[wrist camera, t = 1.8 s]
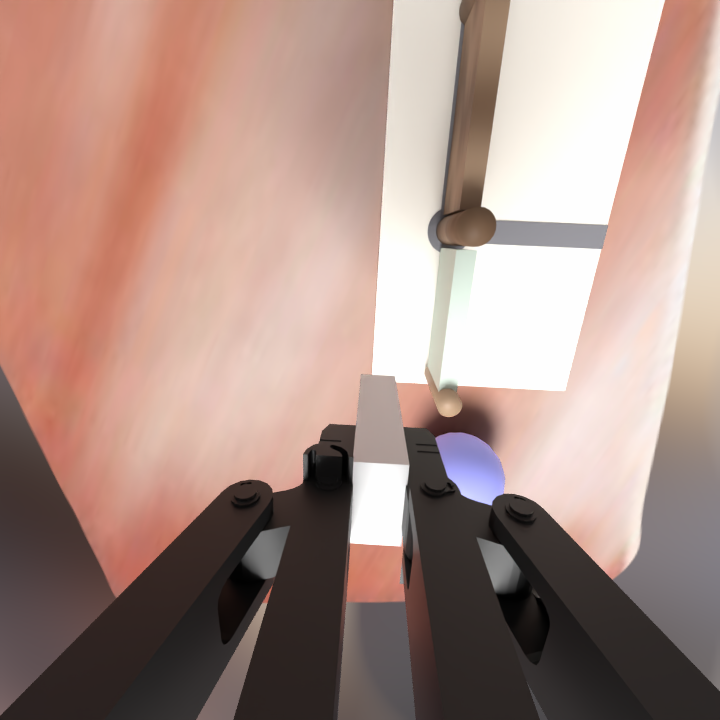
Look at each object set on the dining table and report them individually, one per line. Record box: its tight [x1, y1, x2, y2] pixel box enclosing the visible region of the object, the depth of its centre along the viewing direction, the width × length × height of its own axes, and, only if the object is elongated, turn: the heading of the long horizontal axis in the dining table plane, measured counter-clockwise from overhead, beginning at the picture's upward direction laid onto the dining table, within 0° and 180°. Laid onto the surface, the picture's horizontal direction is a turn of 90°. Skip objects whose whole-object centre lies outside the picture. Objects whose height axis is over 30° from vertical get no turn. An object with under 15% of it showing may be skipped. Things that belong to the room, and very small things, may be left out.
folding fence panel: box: [424, 248, 477, 417], centre depth 24 cm, size 10×2×6 cm, turn 178°
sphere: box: [435, 432, 505, 505], centre depth 28 cm, size 7×7×7 cm
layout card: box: [372, 0, 665, 391], centre depth 25 cm, size 26×16×1 cm, turn 178°
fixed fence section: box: [436, 0, 511, 247], centre depth 20 cm, size 14×2×7 cm, turn 178°
